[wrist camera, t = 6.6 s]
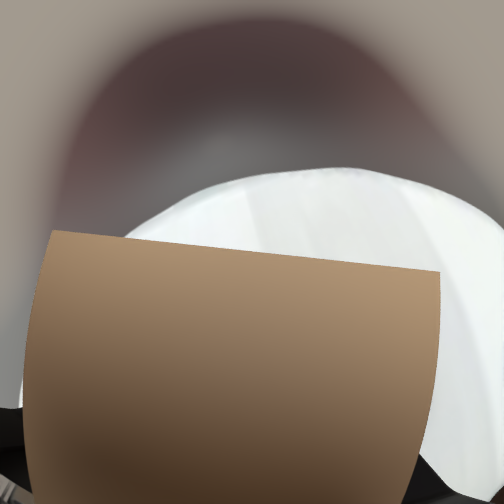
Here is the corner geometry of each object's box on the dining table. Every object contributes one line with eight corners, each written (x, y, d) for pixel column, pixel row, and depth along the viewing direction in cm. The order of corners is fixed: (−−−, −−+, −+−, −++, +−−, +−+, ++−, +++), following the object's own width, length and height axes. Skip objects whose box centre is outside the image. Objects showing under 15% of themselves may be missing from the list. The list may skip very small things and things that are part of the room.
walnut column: (299, 419, 13) (342, 599, 1) (212, 406, 14) (36, 509, 2) (313, 335, 15) (439, 271, 2) (225, 323, 15) (53, 229, 3)
